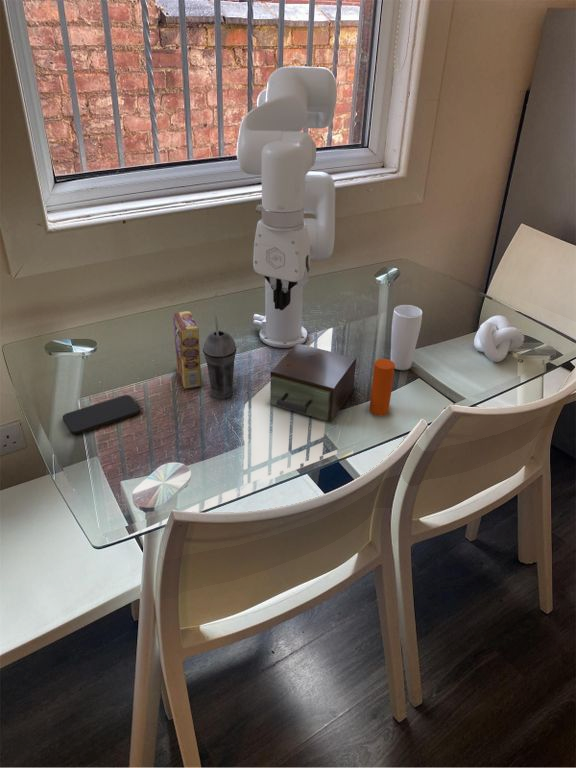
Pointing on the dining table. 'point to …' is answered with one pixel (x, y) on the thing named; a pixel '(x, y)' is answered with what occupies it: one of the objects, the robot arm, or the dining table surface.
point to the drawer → (300, 397)
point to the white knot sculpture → (498, 338)
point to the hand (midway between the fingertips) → (281, 306)
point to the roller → (381, 386)
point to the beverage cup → (220, 362)
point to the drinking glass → (405, 335)
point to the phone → (100, 414)
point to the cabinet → (320, 372)
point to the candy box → (187, 349)
